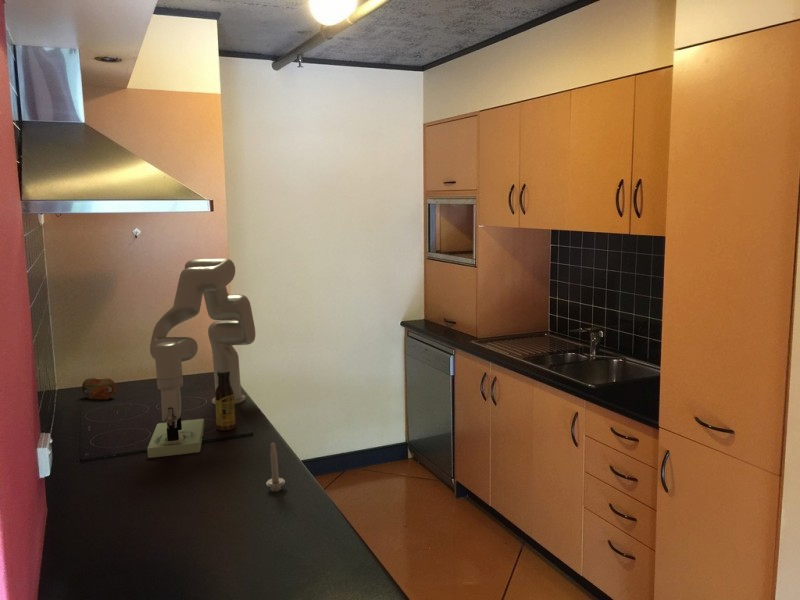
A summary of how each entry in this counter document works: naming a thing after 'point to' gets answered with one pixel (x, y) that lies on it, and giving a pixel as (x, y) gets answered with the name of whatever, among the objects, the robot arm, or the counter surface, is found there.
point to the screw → (274, 471)
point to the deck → (190, 444)
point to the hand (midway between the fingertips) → (175, 435)
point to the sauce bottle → (224, 402)
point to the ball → (179, 438)
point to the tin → (99, 388)
